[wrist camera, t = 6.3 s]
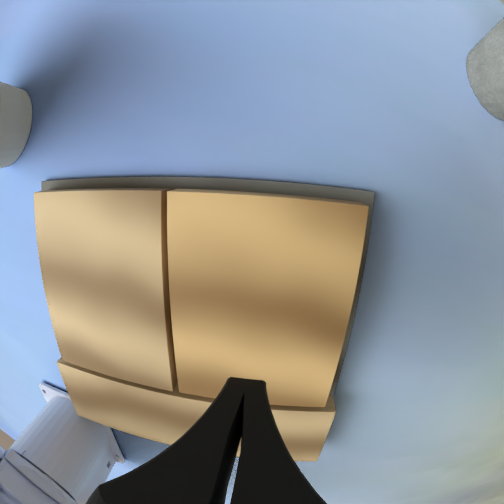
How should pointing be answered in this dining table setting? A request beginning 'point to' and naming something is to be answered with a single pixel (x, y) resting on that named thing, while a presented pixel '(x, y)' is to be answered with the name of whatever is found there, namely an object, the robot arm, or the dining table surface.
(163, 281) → the floor panel
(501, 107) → the house plant
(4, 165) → the coffee cup
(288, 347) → the oak plank
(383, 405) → the dining table surface
